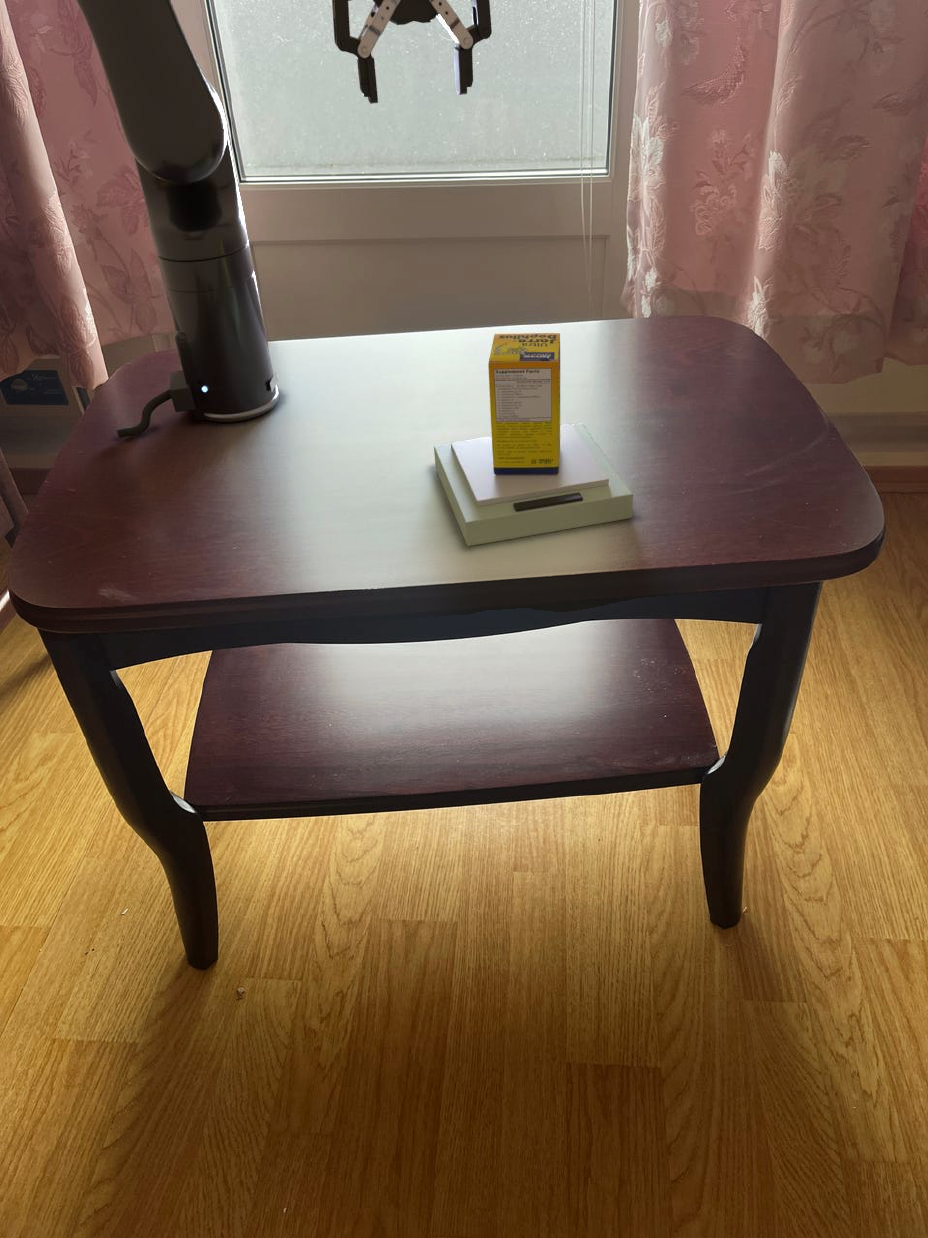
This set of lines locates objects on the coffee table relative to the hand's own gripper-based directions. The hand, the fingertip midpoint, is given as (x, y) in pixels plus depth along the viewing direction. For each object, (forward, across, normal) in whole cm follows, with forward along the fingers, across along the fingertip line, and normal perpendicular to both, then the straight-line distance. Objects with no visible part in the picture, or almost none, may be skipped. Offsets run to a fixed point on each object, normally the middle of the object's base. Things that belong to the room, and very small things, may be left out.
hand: (417, 97), depth 90 cm
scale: (+29, -4, +26) cm, 39 cm away
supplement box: (+26, -4, +25) cm, 37 cm away
